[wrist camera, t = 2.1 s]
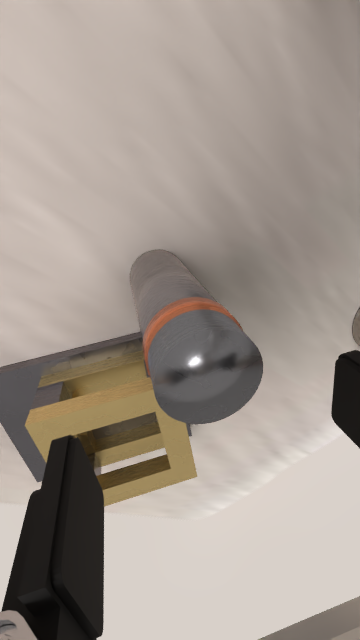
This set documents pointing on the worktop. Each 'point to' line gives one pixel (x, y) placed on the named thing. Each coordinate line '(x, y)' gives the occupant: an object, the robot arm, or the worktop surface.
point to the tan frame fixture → (96, 415)
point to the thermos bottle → (357, 328)
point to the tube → (191, 343)
